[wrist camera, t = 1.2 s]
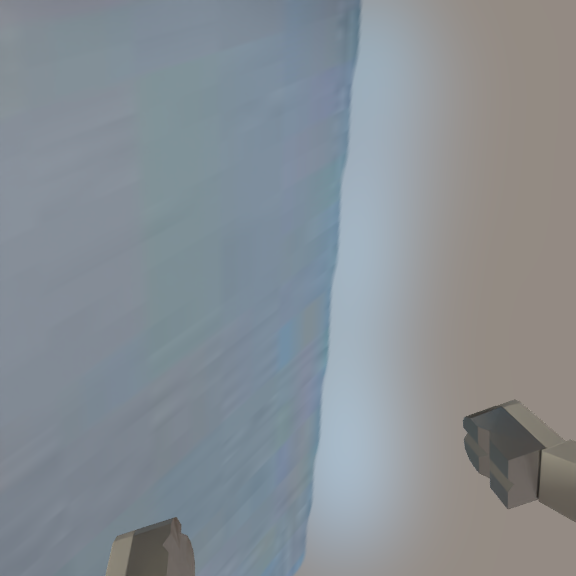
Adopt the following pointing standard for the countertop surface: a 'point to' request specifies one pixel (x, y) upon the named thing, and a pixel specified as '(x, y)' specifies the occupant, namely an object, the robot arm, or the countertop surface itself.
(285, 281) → the countertop surface
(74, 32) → the countertop surface
